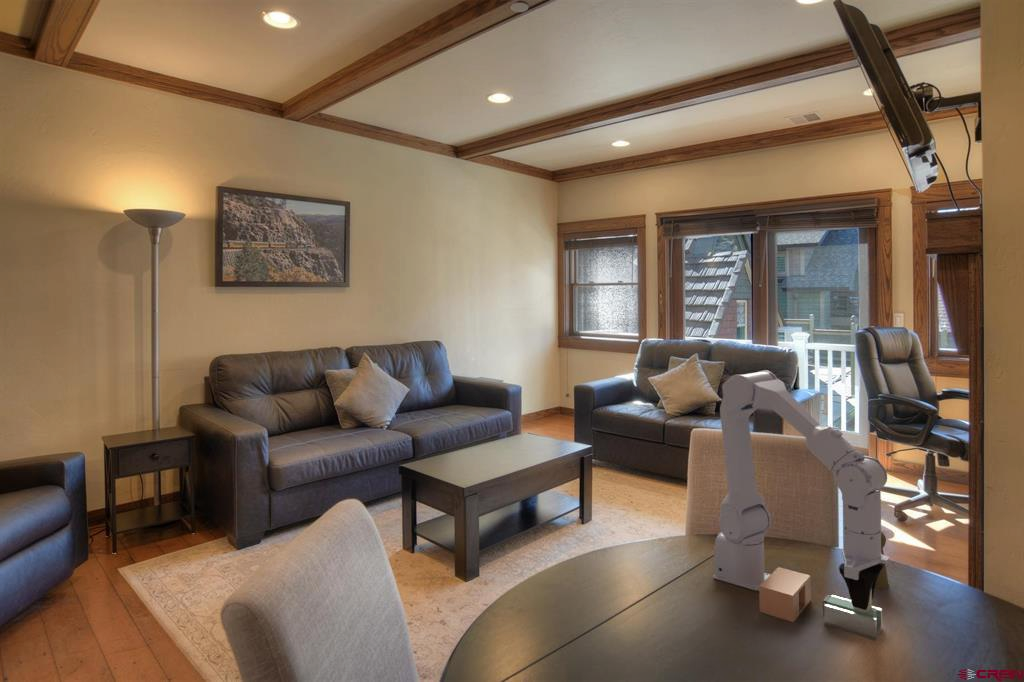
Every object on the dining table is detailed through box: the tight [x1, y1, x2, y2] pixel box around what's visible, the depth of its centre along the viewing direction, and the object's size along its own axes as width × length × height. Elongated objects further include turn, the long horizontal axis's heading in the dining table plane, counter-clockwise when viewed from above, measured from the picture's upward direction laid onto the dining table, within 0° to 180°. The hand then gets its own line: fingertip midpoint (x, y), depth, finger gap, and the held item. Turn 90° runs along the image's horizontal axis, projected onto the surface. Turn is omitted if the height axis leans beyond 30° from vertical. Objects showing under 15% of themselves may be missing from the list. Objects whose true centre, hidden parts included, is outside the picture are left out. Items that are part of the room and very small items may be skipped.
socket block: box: [758, 566, 812, 623], centre depth 113 cm, size 6×10×5 cm, turn 136°
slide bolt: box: [822, 588, 877, 618], centre depth 105 cm, size 8×3×7 cm, turn 46°
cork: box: [875, 531, 889, 590], centre depth 120 cm, size 6×6×11 cm
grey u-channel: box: [823, 594, 883, 641], centre depth 105 cm, size 8×5×4 cm, turn 46°
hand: (862, 603), depth 104 cm, fingers closed on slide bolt, 3 cm apart
